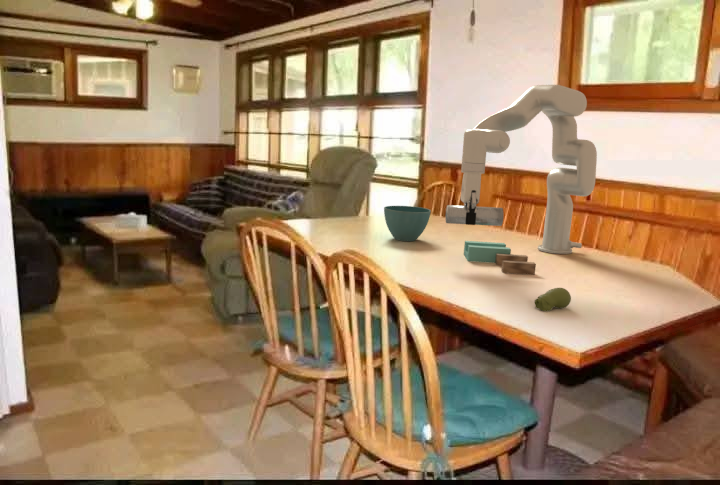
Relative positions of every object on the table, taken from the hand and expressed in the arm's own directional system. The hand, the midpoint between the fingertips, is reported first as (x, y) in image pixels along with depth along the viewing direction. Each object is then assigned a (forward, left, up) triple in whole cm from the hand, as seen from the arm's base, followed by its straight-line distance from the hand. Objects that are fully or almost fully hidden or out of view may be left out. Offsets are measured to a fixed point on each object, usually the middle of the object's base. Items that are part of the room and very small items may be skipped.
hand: (468, 222), depth 195 cm
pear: (-16, +47, -14) cm, 52 cm away
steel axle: (-2, 0, +2) cm, 3 cm away
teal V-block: (-8, -8, -14) cm, 18 cm away
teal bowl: (+19, -36, -14) cm, 43 cm away
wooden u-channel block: (-15, +5, -14) cm, 21 cm away
